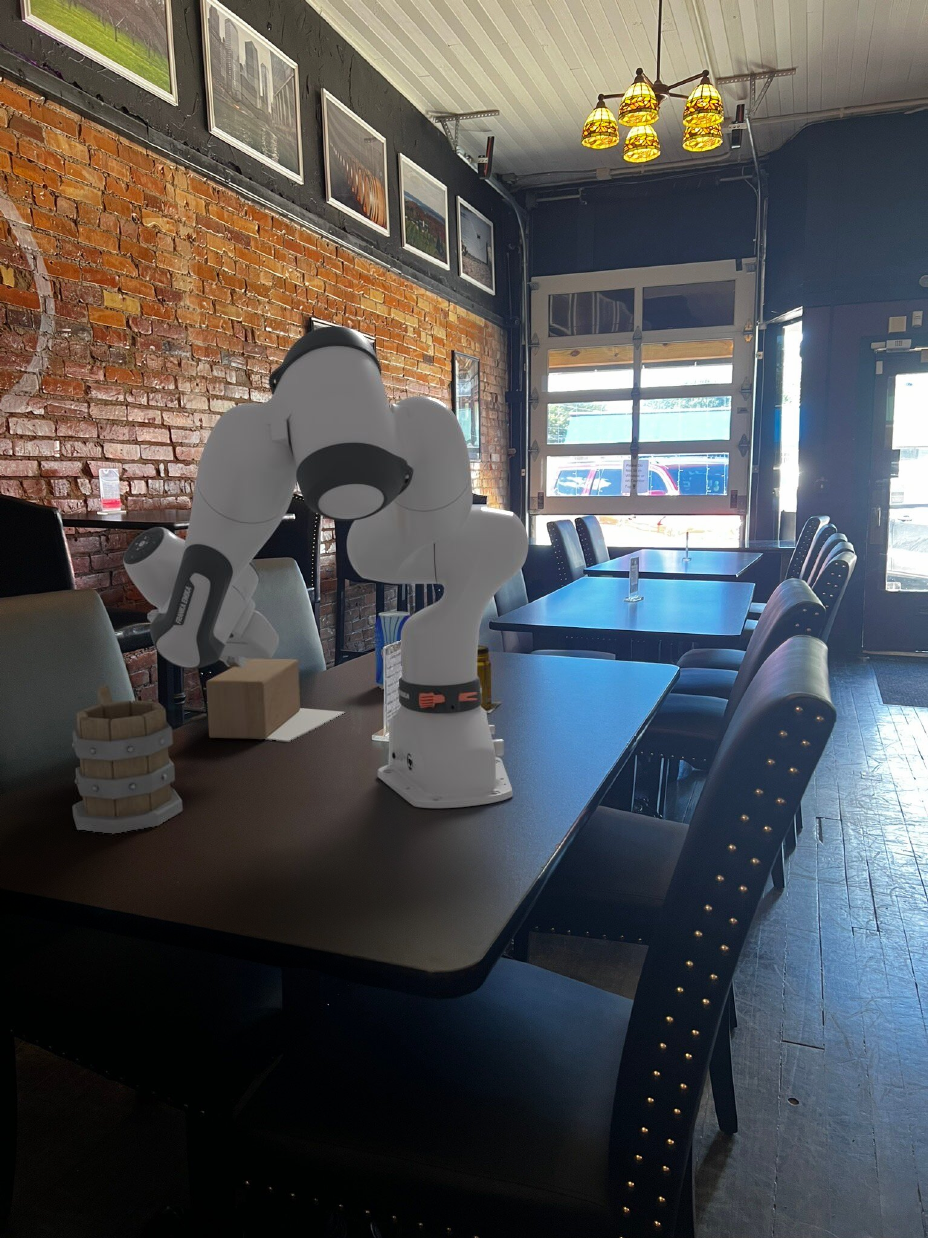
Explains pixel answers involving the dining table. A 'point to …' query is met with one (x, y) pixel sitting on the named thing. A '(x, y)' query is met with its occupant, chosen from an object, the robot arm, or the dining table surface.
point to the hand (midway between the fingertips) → (237, 663)
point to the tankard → (123, 766)
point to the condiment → (485, 678)
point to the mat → (302, 724)
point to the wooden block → (253, 698)
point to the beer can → (387, 636)
